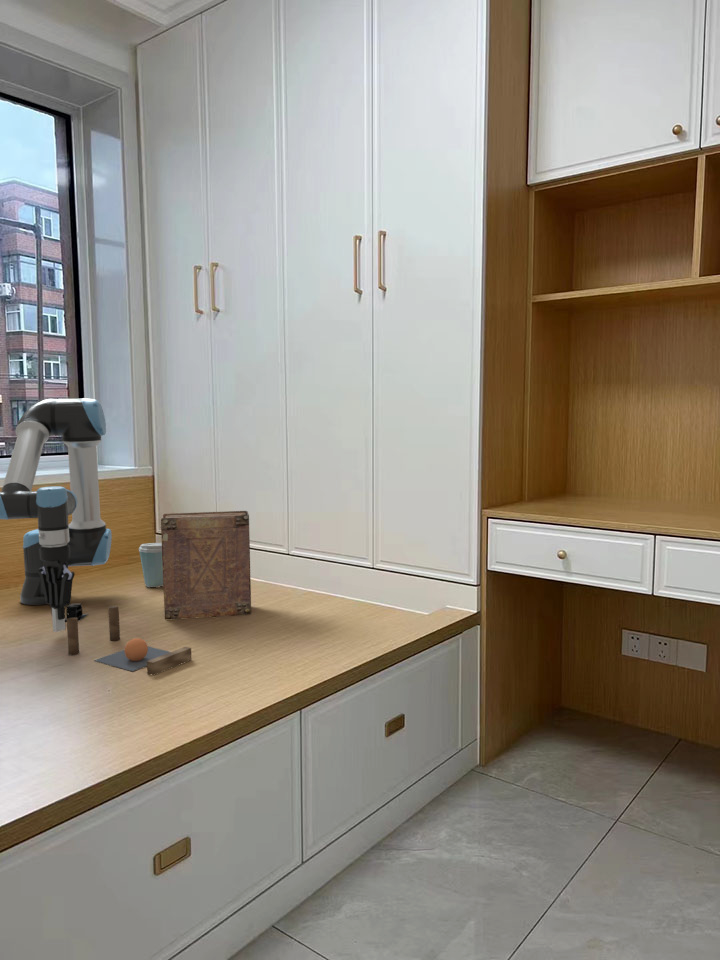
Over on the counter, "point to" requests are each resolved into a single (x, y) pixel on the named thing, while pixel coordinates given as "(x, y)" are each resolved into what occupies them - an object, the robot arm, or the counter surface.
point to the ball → (136, 649)
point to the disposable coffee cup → (152, 564)
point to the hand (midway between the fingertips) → (59, 630)
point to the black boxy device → (75, 612)
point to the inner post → (114, 623)
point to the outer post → (72, 636)
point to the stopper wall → (168, 660)
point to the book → (206, 564)
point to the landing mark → (124, 663)
